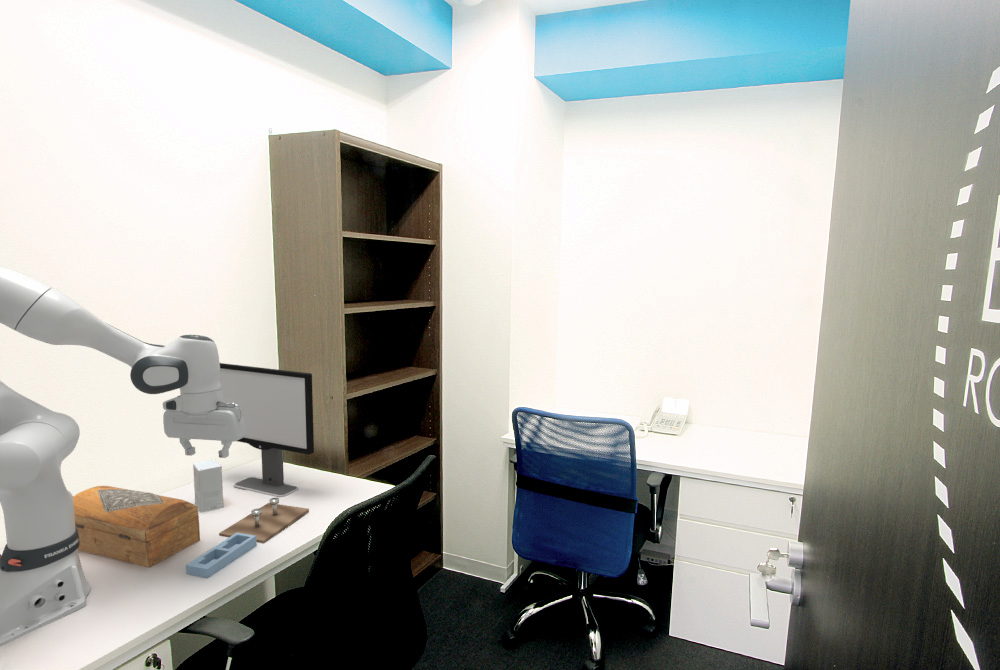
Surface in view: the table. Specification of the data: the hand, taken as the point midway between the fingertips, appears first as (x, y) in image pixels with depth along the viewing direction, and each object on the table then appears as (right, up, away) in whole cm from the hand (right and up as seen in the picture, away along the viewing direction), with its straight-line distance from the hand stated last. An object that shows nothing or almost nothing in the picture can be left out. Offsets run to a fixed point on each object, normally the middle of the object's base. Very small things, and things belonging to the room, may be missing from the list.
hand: (207, 455), depth 134 cm
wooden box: (-23, -25, +8) cm, 35 cm away
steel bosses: (+6, -24, +20) cm, 32 cm away
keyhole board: (+6, -24, +20) cm, 32 cm away
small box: (-16, -22, +31) cm, 42 cm away
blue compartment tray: (+4, -26, 0) cm, 26 cm away
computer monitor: (-5, -21, +46) cm, 50 cm away
